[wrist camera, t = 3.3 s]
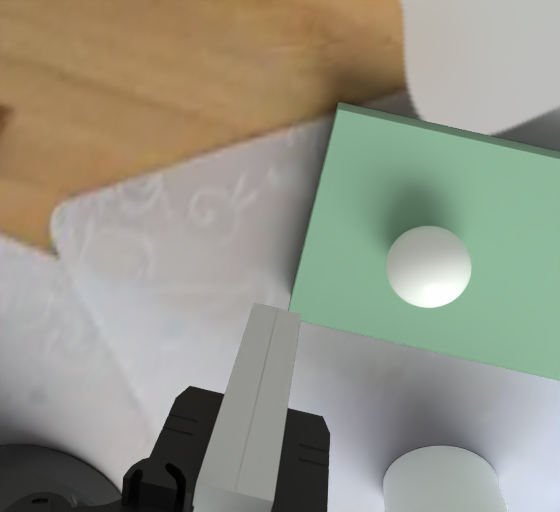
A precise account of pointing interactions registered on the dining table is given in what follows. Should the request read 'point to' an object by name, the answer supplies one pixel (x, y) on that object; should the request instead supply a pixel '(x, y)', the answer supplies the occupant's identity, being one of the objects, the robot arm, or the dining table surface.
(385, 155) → the green
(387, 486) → the cup
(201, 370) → the dining table surface
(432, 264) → the ball
